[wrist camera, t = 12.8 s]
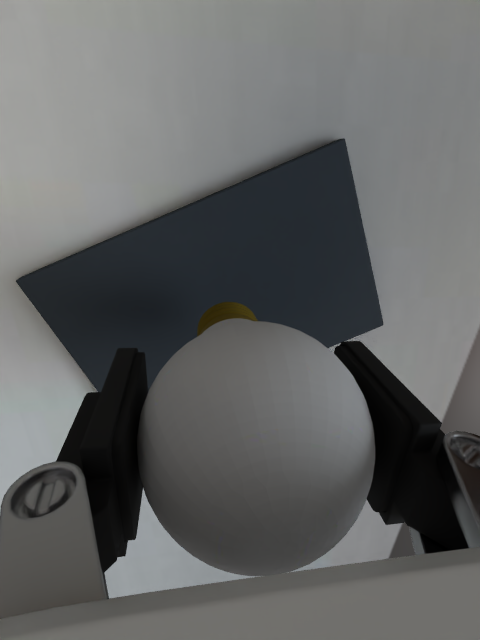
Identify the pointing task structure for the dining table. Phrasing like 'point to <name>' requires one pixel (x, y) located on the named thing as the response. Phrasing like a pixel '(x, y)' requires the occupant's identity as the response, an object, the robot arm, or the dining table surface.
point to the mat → (220, 268)
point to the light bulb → (255, 445)
